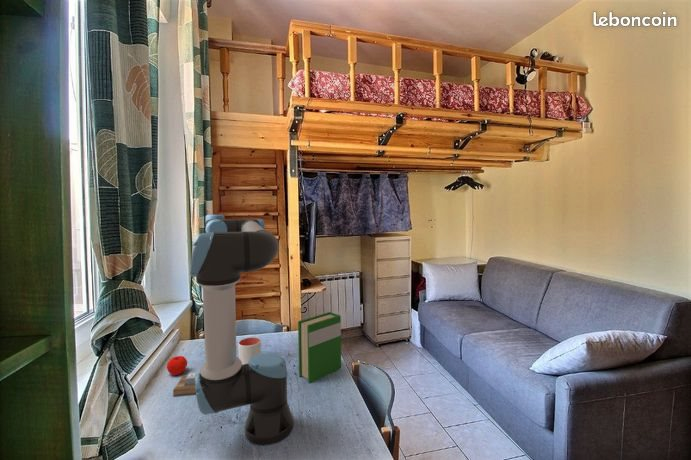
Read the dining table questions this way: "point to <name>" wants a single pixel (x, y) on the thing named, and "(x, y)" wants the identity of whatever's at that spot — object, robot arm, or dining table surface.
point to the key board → (184, 388)
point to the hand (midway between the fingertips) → (218, 305)
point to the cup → (248, 348)
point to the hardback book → (319, 346)
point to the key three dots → (191, 378)
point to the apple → (177, 365)
